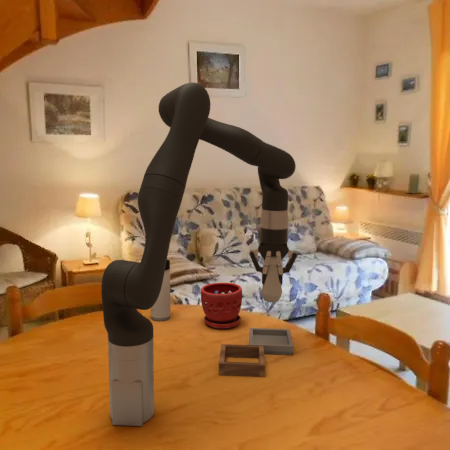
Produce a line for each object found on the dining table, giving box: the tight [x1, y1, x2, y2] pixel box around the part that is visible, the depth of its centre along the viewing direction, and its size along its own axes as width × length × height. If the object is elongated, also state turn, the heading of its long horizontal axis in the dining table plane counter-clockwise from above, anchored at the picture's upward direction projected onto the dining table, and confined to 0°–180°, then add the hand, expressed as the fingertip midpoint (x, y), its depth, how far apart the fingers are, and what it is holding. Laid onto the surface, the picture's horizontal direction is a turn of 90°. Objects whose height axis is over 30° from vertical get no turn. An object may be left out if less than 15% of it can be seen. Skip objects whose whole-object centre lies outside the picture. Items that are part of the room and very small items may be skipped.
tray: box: [248, 327, 294, 356], centre depth 136 cm, size 12×12×2 cm
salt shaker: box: [261, 256, 283, 304], centre depth 132 cm, size 6×6×13 cm
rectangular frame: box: [218, 343, 266, 377], centre depth 123 cm, size 11×11×3 cm
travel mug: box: [150, 259, 171, 322], centre depth 153 cm, size 6×7×20 cm
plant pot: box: [200, 282, 243, 329], centre depth 150 cm, size 13×13×12 cm
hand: (271, 286), depth 133 cm, fingers closed on salt shaker, 3 cm apart
